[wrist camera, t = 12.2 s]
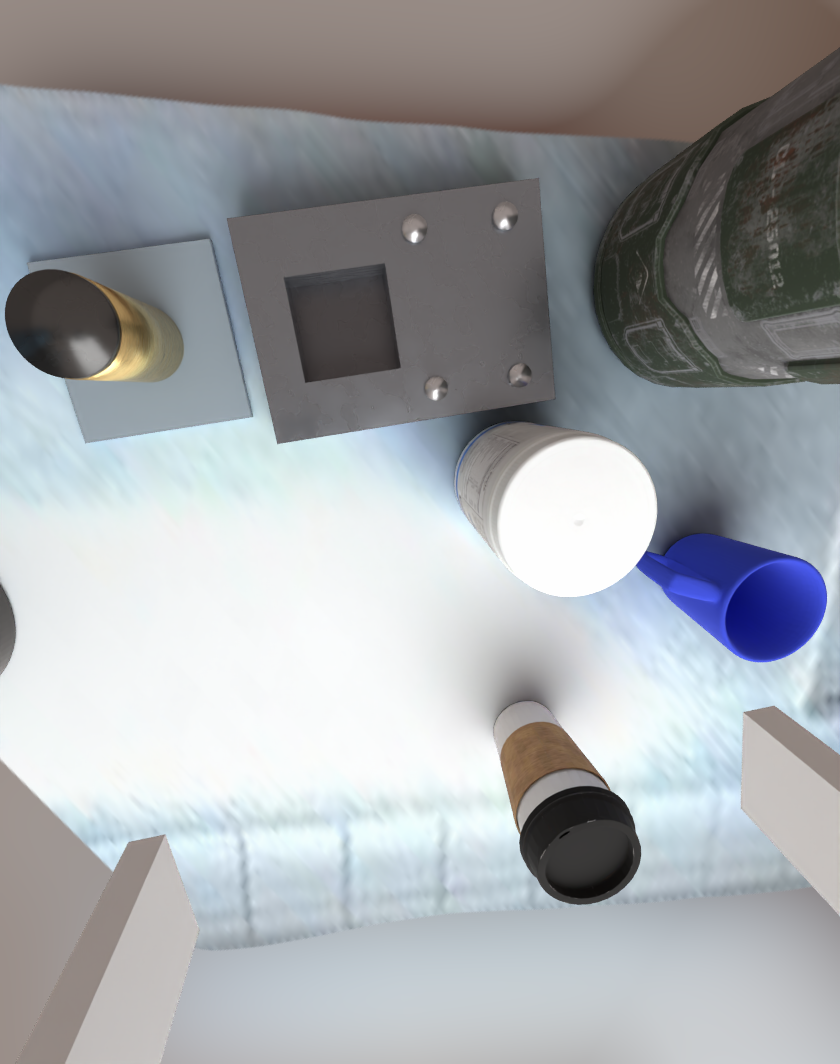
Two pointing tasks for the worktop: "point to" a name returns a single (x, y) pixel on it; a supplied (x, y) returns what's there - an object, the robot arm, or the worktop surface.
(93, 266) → the mat
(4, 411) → the worktop surface
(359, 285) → the housing
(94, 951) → the robot arm
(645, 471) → the supplement tub
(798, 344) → the canister
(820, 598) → the mug
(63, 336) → the cylinder
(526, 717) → the coffee cup
